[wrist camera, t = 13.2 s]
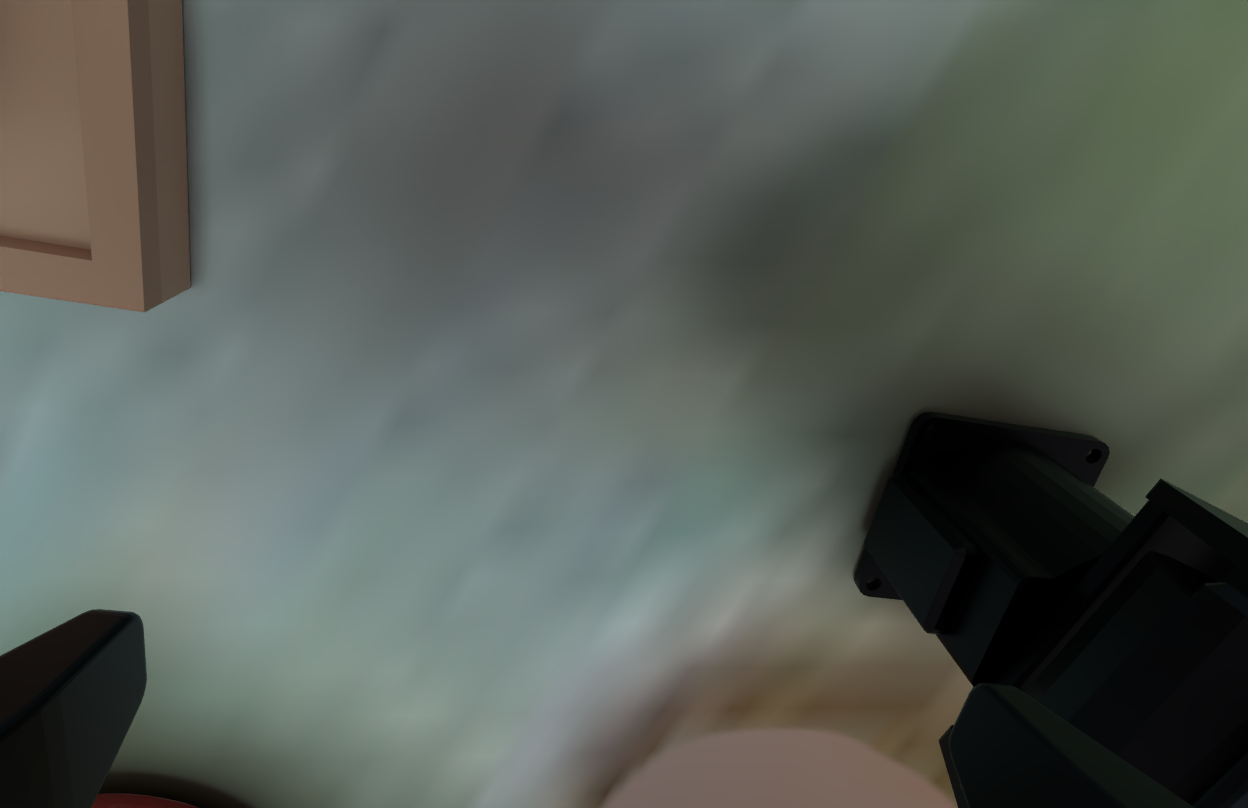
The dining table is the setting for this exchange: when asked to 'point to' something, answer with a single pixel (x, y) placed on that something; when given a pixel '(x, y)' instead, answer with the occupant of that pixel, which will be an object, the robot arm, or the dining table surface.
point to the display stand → (93, 151)
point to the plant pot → (136, 801)
